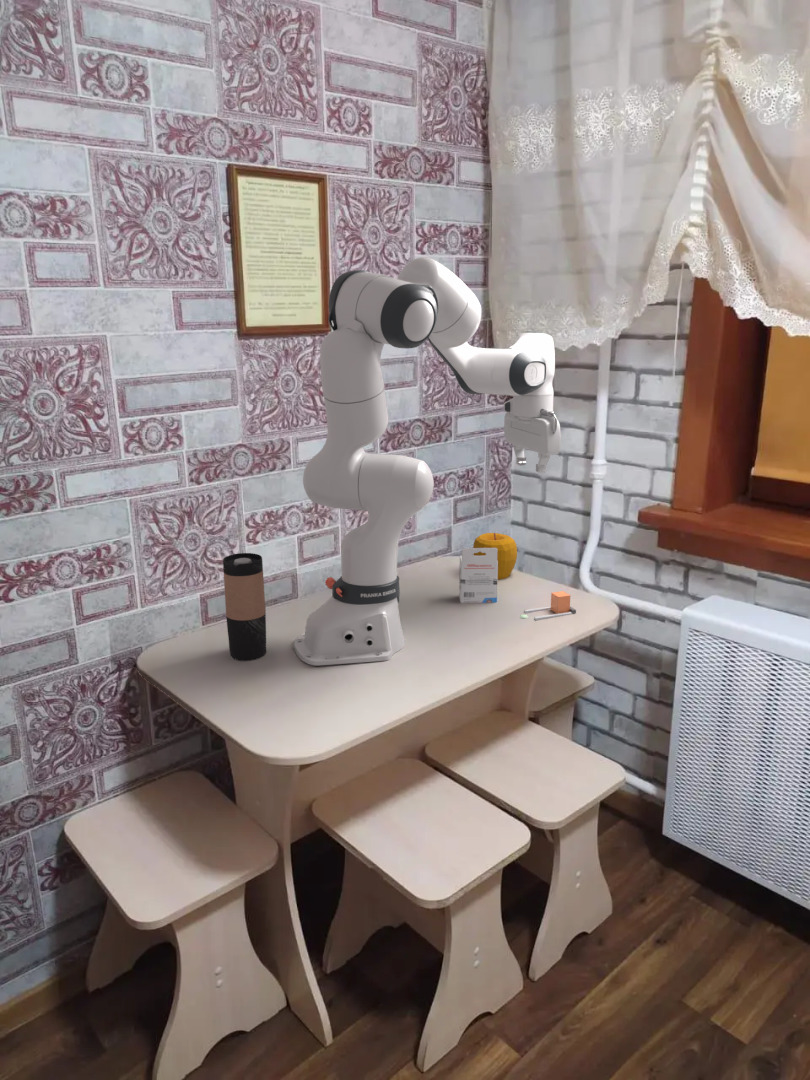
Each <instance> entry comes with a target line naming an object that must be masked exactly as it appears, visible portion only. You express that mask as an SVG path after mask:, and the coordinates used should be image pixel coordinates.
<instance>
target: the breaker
mask: <svg viewBox="0 0 810 1080" xmlns="http://www.w3.org/2000/svg"><path fill="white" fill-rule="evenodd" d="M550 596H551V597H550V598H551V599H550V606H551V609H550V611H552V612H554V614H559V613H566V612H570V607H571V595H570V594H568V593H567V592H565V591H563V590H560V591H556V592H554V591H553V592H551V593H550Z"/></svg>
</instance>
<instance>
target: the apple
mask: <svg viewBox="0 0 810 1080" xmlns="http://www.w3.org/2000/svg"><path fill="white" fill-rule="evenodd" d="M472 548H497V561H498V577H497V581H499V580H503V579H508V578H509V577H510V575H511V574H512V572H513V570H514V569H515V565H516V563H517V558H518V546H517V543H516V540H515V539H513V538H512V537H511V536H509V535H507V534H503V533H498V532H485V533H482V534H480V535H479V536H477V537H475V539H474V542H473V547H472ZM473 555H474V556H482V555H483V556H484V555H486V553H481V552H478V553H474V554H473Z"/></svg>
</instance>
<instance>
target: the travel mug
mask: <svg viewBox="0 0 810 1080" xmlns="http://www.w3.org/2000/svg"><path fill="white" fill-rule="evenodd" d="M222 567H223V568H222V570H223V584H224V602H225V603H224V604H225V616H226V617H225V619H226V627H227V637H228V639H227V640H228V647H229V655H230V658H231V659H233V660H235V661H238V662H239V661H240V662H248V661H255V660H259V659H260V658H263V657H264V656H265V655H266V654H267V622H266V621H267V613H266V612H267V610H266V598H265V582H264V581H265V580H264V568H263V557H262V556H261V555H260V554H257V553H254V552H253V553H252V552H246V553H245V552H240V553H233V554H231V555H230V554H229V555H226V556H225V557H224V558H223V559H222Z"/></svg>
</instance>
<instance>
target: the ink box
mask: <svg viewBox="0 0 810 1080" xmlns="http://www.w3.org/2000/svg"><path fill="white" fill-rule="evenodd" d="M478 552H481V553H486V555H484V556H483V555H482V556H474V553H478ZM497 577H498V561H497V548H473V547H470V548H469V547H468V548H467V547H463V548H462V549H461V555H459V582H458V583H459V586H458V587H459V593H458V595H459V602H460V603H461V604H483V603H485V604H487V603H497V602H498V580H497Z"/></svg>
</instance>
